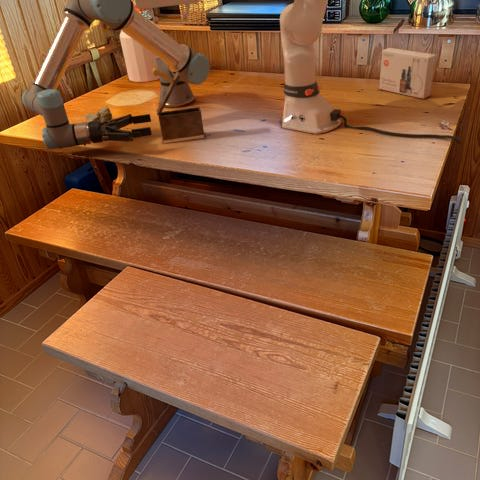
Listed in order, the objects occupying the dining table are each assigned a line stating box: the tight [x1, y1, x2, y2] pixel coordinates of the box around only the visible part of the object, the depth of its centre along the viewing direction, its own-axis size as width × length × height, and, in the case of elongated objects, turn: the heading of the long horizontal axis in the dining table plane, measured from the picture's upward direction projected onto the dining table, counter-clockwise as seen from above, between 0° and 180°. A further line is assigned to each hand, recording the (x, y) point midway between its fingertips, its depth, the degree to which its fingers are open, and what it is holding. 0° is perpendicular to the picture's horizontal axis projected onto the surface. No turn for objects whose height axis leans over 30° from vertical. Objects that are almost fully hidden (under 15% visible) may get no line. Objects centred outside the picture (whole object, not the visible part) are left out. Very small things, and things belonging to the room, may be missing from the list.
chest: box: [158, 106, 206, 144], centre depth 166 cm, size 15×5×10 cm, turn 100°
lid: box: [153, 67, 180, 117], centre depth 157 cm, size 16×5×8 cm
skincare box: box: [378, 47, 437, 100], centre depth 184 cm, size 21×6×16 cm, turn 40°
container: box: [119, 19, 160, 83], centre depth 235 cm, size 21×21×28 cm
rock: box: [85, 105, 113, 125], centre depth 189 cm, size 11×6×10 cm
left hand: (150, 124), depth 163 cm, fingers open, 13 cm apart
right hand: (171, 21), depth 147 cm, fingers open, 8 cm apart
